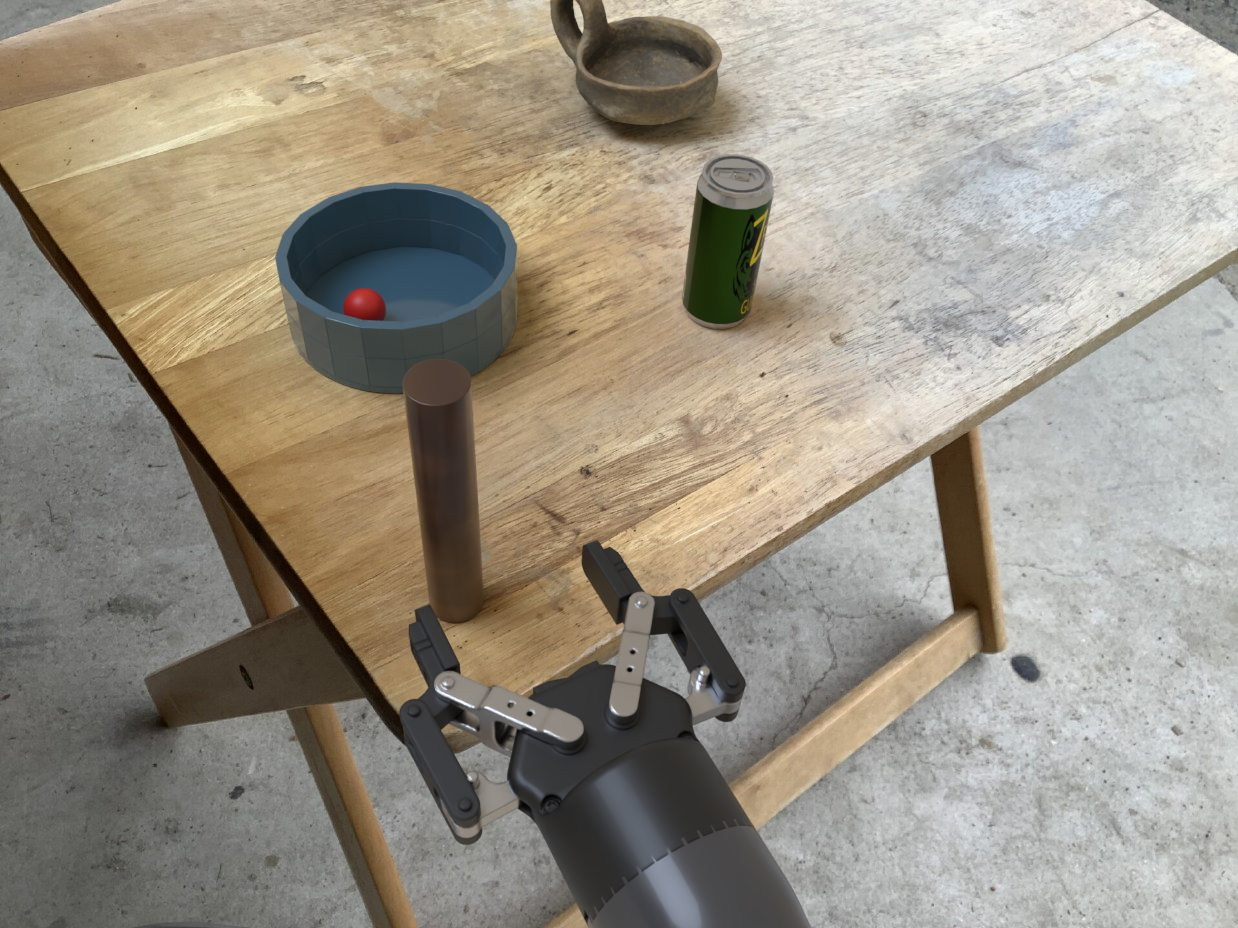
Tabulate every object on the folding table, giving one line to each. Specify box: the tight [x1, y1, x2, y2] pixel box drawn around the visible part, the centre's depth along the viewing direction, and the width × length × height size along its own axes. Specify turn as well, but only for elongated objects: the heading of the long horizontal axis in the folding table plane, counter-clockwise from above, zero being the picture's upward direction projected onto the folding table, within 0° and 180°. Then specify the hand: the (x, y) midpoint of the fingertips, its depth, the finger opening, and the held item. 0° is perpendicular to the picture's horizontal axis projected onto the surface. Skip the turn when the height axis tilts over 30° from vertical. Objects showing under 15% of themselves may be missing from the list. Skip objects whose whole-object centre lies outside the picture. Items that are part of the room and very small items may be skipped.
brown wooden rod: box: [402, 359, 485, 624], centre depth 58 cm, size 3×3×18 cm
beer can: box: [681, 153, 775, 330], centre depth 79 cm, size 5×5×12 cm
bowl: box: [549, 0, 723, 126], centre depth 99 cm, size 14×18×10 cm
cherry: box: [343, 288, 386, 321], centre depth 78 cm, size 3×3×3 cm
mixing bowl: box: [274, 181, 519, 395], centre depth 79 cm, size 17×17×6 cm
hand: (507, 583), depth 52 cm, fingers open, 8 cm apart
